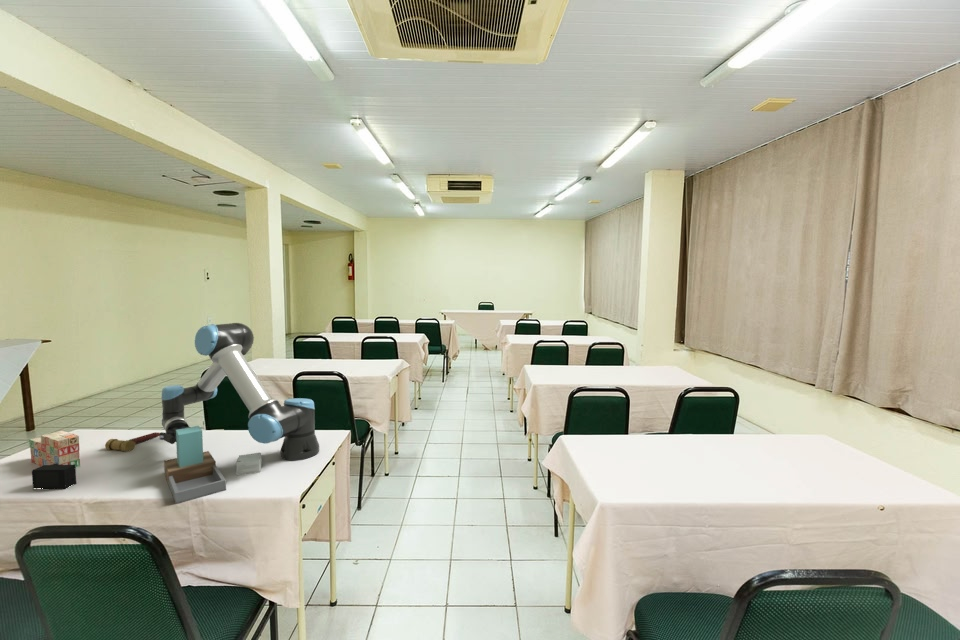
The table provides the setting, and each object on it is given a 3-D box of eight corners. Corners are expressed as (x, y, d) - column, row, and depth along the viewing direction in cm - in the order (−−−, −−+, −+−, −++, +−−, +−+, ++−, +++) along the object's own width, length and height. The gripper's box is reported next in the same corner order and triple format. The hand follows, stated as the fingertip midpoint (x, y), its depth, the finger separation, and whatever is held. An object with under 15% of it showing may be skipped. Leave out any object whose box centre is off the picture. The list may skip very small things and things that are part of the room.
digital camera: (80, 482, 146) (78, 462, 145) (65, 489, 140) (64, 469, 140) (48, 482, 145) (47, 463, 144) (33, 489, 139) (31, 469, 139)
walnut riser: (164, 473, 153) (164, 460, 152) (209, 463, 162) (208, 451, 162) (169, 486, 143) (168, 472, 143) (216, 474, 153) (215, 461, 152)
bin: (169, 486, 143) (168, 476, 143) (216, 474, 153) (215, 465, 152) (175, 504, 132) (175, 493, 131) (226, 490, 141) (225, 480, 141)
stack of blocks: (30, 462, 161) (28, 431, 160) (52, 456, 167) (50, 427, 166) (59, 472, 153) (57, 440, 152) (80, 466, 158) (79, 435, 158)
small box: (261, 464, 162) (261, 452, 162) (260, 472, 155) (259, 459, 155) (239, 467, 159) (238, 454, 159) (236, 476, 152) (235, 462, 152)
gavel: (152, 427, 194) (170, 429, 192) (152, 437, 194) (170, 439, 192) (104, 440, 173) (124, 442, 171) (104, 451, 173) (124, 453, 171)
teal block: (177, 461, 152) (175, 429, 151) (199, 456, 156) (198, 425, 156) (179, 467, 147) (178, 434, 146) (203, 462, 151) (202, 430, 150)
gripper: (196, 433, 175) (206, 449, 158) (157, 440, 166) (164, 458, 149) (195, 416, 175) (206, 430, 157) (156, 422, 166) (163, 438, 149)
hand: (185, 444), depth 153 cm, fingers closed
